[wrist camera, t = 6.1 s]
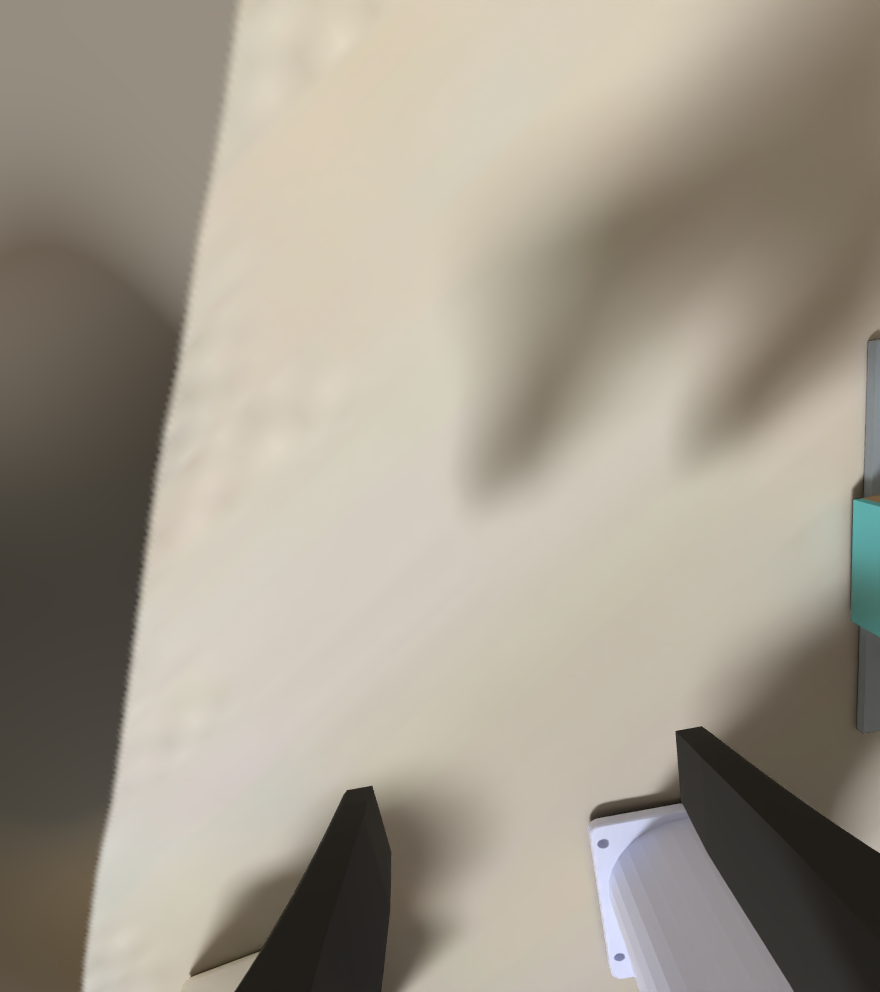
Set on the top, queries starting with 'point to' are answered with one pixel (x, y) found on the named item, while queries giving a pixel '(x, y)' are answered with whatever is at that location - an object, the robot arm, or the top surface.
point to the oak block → (866, 564)
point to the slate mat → (875, 653)
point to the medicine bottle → (220, 977)
